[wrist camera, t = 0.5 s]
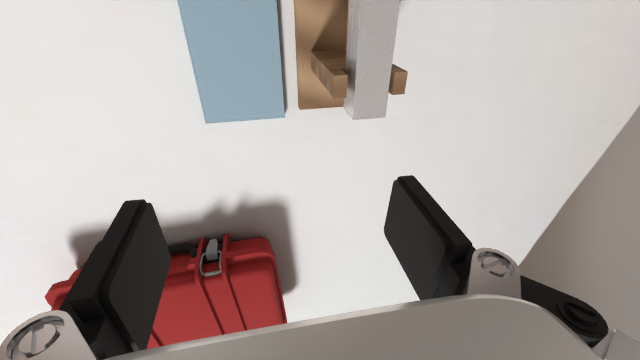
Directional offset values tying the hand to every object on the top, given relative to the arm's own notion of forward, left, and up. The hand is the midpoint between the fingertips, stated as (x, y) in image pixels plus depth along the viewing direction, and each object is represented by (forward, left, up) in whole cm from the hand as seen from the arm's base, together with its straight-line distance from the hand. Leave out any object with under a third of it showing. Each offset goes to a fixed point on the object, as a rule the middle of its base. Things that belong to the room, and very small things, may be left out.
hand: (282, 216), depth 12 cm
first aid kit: (+38, -17, -30) cm, 51 cm away
